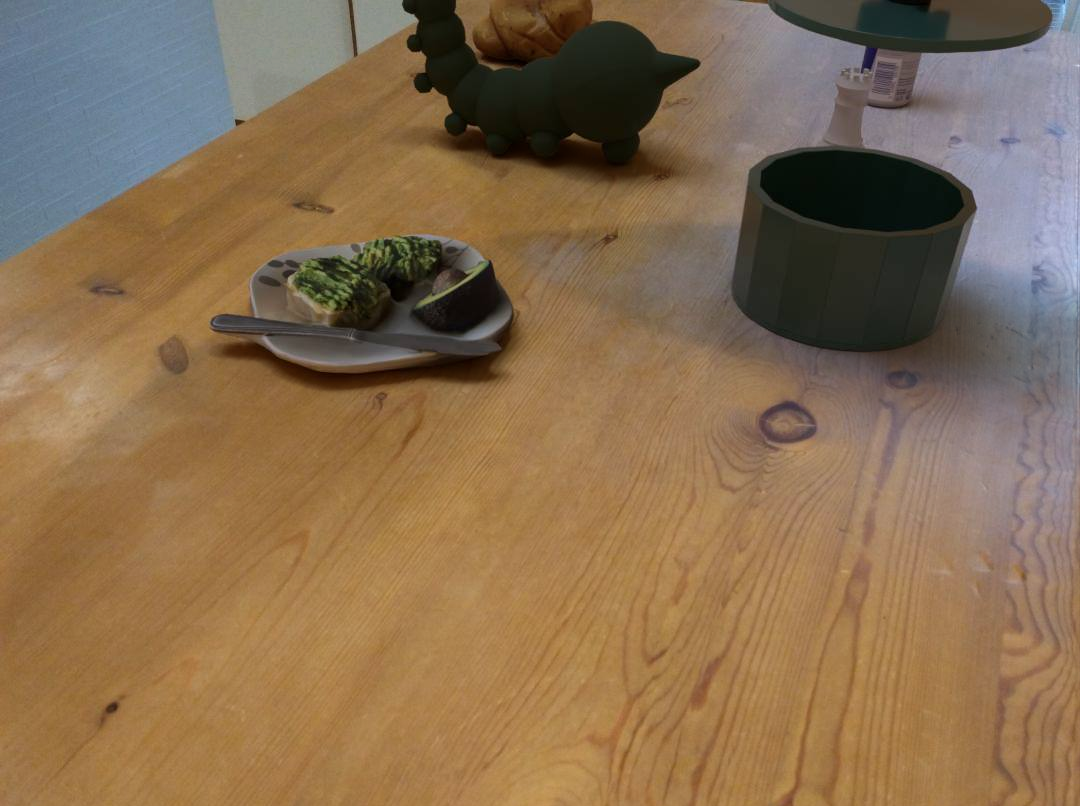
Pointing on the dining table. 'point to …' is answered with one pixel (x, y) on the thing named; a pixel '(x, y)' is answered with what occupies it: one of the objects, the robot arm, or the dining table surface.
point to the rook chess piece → (848, 109)
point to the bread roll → (530, 27)
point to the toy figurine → (547, 85)
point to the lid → (922, 23)
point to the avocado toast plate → (375, 305)
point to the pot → (850, 246)
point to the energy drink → (890, 76)
